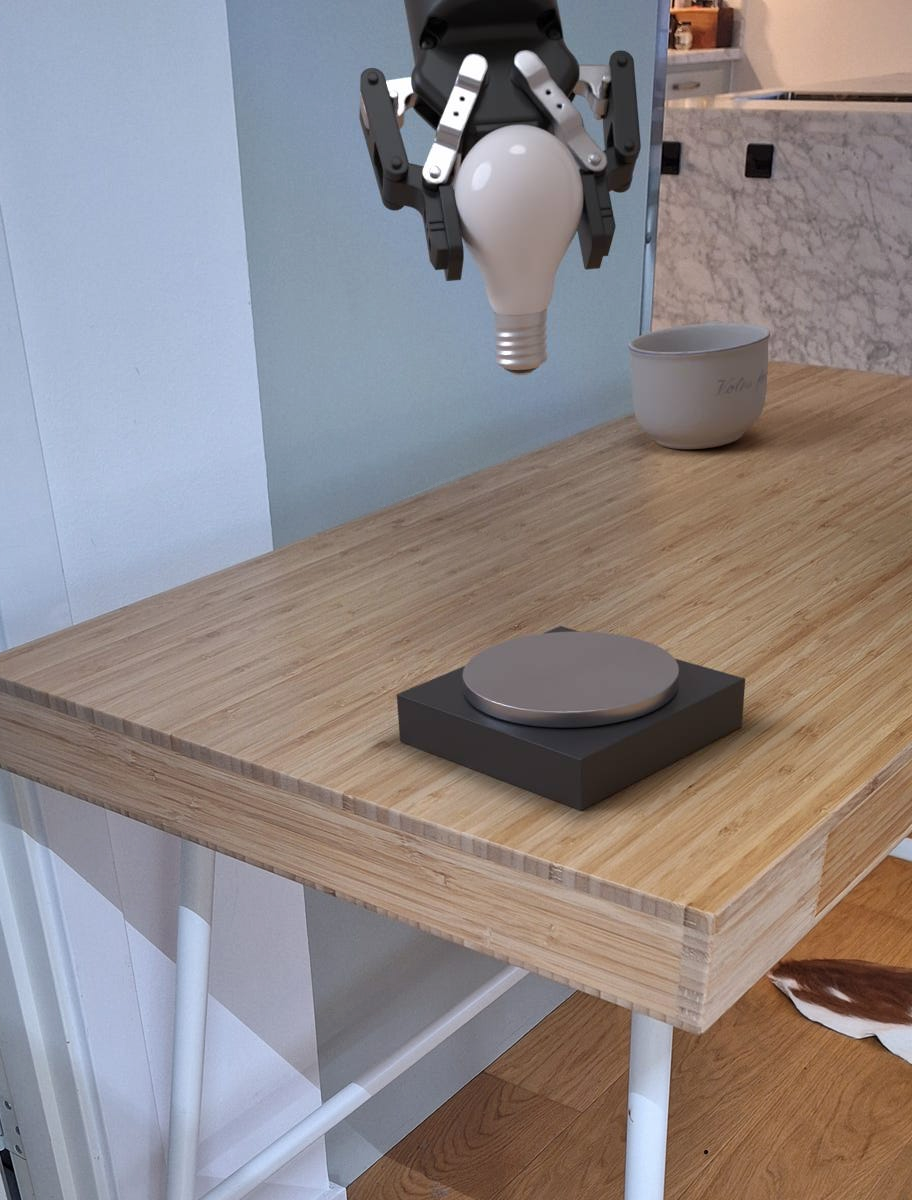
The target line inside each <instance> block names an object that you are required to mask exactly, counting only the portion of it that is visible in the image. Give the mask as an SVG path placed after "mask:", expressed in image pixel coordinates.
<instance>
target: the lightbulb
mask: <svg viewBox="0 0 912 1200" xmlns="http://www.w3.org/2000/svg"><path fill="white" fill-rule="evenodd" d="M453 189H454V195H455V201H456V207H457V213H458V219H459V224H460V230H461V236H462V242H463V246H464V248H466V250H467V252H468V253H469V255H470V257H471V258H472V259H473V261H474V262H475V264H476V266H477V268H478V269H479V271H480V272H479V273H480V274H481V276H482V279H483V283H484V287H485V292H486V297H487V300H488V303H489V305H490V307H491V310H492V312H493V322H494V325H493V326H494V328H495V333H494V337H495V338H496V340H495V342H494V346H495V347H496V350H495V352H494V353H495V356H496V358H495V359H494V360H495V361H494V362H495V363H496V364H497V365H498V366H500V367H501V368H503V369H504V370H505V371H507V372H509V373H510V374H511V375H513V376H528V375H530V374H532V372H534V371H535V370H538V368H540V366H541V365H544V364H545V362H547V360H548V353H547V351H546V350H547V348H548V344H547V342H546V341H547V338H548V335H547V333H546V332H547V329H548V326H547V324H546V322H547V320H548V307H549V305H550V303H551V300H552V297H553V295H554V294H553V293H554V287H555V282H556V276H557V273H558V269H559V267H560V265H561V263H562V261H563V259H564V257H565V255H566V254H567V252H568V250H569V248H570V246H571V244H572V242H573V240H574V239H575V236H576V234H577V233H578V232H577V229H578V227H579V224H580V220H581V216H582V211H583V199H584V196H583V185H582V179H581V175H580V172H579V169H578V166H577V164H576V162H575V159H574V158H573V156H572V154H571V153H570V151H569V150H568V149H567V147H566V146H565V145H564V144H563V143H562V142H561V141H560V140H559V139H558V138H557V137H555V136H554V135H552V134H551V133H549V132H548V131H545V130H543V129H541V128H538V127H535V126H530V125H510V126H505V127H502V128H499V129H497V130H494V131H492V132H491V133H489V134H487V135H486V136H484V137H483V138H482V139H481V140H479V141H478V142H477V143H476V144H475V145H474V146H473V147H472V149H471V150H470V151H469V153H468V154H467V155H466V157H465V159H464V160H463V162H462V164H461V166H460V169H459V171H458V174H457V177H456V181H455V186H454V187H453Z"/></svg>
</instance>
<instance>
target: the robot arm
mask: <svg viewBox="0 0 912 1200" xmlns="http://www.w3.org/2000/svg"><path fill="white" fill-rule="evenodd" d="M403 3H404V9H405V14H406V21H407V27H408V31H409V38H410V39H409V40H410V44H411V51H412V56H413V62H414V67H413V69H412V71H411V74H410V76H405V77H400V78H394V79H387V80H386V77H385V74H384V73H383V71H382V70H380V69H379V68H376V67H369V68H365V69H364V70H363V71H362V72H361V74H360V79H359V80H360V83H359V84H360V85H359V122H360V126H361V129H362V133H363V136H364V140H365V144H366V147H367V151H368V155H369V159H370V162H371V165H372V169H373V171H374V172H373V173H374V176H375V177H374V178H375V180H376V183H377V188H378V191H379V194H380V198H381V202H382V205H383V206H384V207H385V208H386V209H388V210H390V211H394V212H395V211H396V212H397V211H400V210H402V209H403V208H405V207H408V208H412V209H415V210H416V211H417V212H418V213H419V214H420V216H421V217H422V221H423V228H424V234H425V240H426V245H427V251H428V259H429V262H430V264H431V265H432V268H433V269H434V270H435V271H442V270H443V272H444V278H445V281H446V282H453V281H454V282H455V281H462V274H463V268H464V267H463V266H464V261H465V260H464V258H465V256H464V255H465V254H464V253H465V252H464V251H465V250H464V243H463V241H462V236H461V230H460V224H459V219H458V213H457V207H456V201H455V195H454V186H455V181H456V177H457V174H458V171H459V169H460V166H461V164H462V162H463V160H464V159H465V157H466V155H467V154H468V153H469V151H470V150H471V149H472V147H473V146H474V145H475V144H476V143H477V142H478V141H479V140H481V139H482V138H483V137H484V136H486V135H487V134H489V133H491V132H492V131H494V130H497V129H499V128H502V127H505V126H510V125H530V126H535V127H538V128H541V129H543V130H545V131H548V132H549V133H551V134H552V135H554V136H555V137H557V138H558V139H559V140H560V141H561V142H562V143H563V144H564V145H565V146H566V147H567V149H568V150H569V151H570V153H571V154H572V156H573V158H574V159H575V162H576V164H577V166H578V169H579V172H580V175H581V179H582V185H583V196H584V199H583V211H582V216H581V220H580V224H579V227H578V229H577V232H576V233H577V238H578V243H579V247H580V248H579V249H580V252H581V258H582V263H583V268H584V270H596V269H597V270H598V269H601V266H602V262H603V258H604V257H608V256H609V254H610V250H611V246H612V242H613V238H614V234H615V231H616V228H617V227H616V222H615V221H616V220H615V216H614V210H613V206H612V201H611V194H610V193H611V191H613V192H614V193H618V194H623V193H626V192H627V191H628V190H629V189H630V188H631V185H632V183H633V182H632V181H633V177H634V172H635V171H634V170H635V167H636V163H637V160H638V158H639V155H640V153H641V148H642V143H641V131H640V120H639V108H638V107H639V106H638V96H637V95H638V93H637V83H636V72H635V59H634V57H633V55H632V54H630V53H629V52H628V51H626V50H623V49H622V50H620V49H619V50H616V51H614V52H612V53H611V55H610V57H609V61H608V64H585V63H584V64H583V63H581V64H579V62H578V60H577V58H576V56H575V55H574V54H573V52H572V51H571V50H570V49H569V48H568V46H567V44H566V42H565V37H564V31H563V26H562V25H563V24H562V20H561V14H560V9H559V3H558V0H403ZM576 96H581V97H583V98H585V100H586V101H587V102H588V105H589V108H590V110H591V111H592V112H593V118H594V119H595V120H597V121H600V120H601V121H602V131H603V142H604V143H603V145H604V150H603V149H602V148H601V147H600V146H599V144H597V142H596V141H595V140H594V139H593V137H592V135H590V133H589V132H588V131H587V130H586V128H585V125H584V119H583V116H582V114H581V113H580V111H579V110H578V109H577V107H576V106H575V105H574V103H573V101H574V99H575V98H576ZM411 108H412V109H413V110H414V112H415V113H416V114H417V115H418V116H419V117H420V118H421V119H422V120H423V121H425V123H426V124H427V125H428V126H429V127H431V128H432V129H433V130H434V131H435V138H434V140H433V143H432V146H431V148H430V150H429V153H428V154H427V155H428V156H427V158H426V159H425V162H424V164H423V165H420V164H416V163H410V162H409V158H408V154H407V151H406V148H405V144H404V140H403V137H402V133H401V131H400V130H401V129H402V128H403V126H404V125H405V117H406V115H405V114H406V112H407V111H408V110H410V109H411Z"/></svg>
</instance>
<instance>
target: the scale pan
mask: <svg viewBox="0 0 912 1200" xmlns="http://www.w3.org/2000/svg"><path fill="white" fill-rule="evenodd" d="M543 633H544V634H542V633H537V634H532V635H525V636H520V637H517V638H511V639H509V640H505V641H502V642H500V643H497V644H494V645H491V646H489V647H487V648H485V649H483V650H482V651H481V650H480V652H478V653H476V654H475V655H473V657H471V658H470V659H469V660H468V662H466V665H464V666H465V668H464V670H463V691H464V695H465V696H466V698H467V700H468V701H469V702H470V703H471V704H472V705H473V706H474V707H475V708H477V709H478V710H480V711H482V712H484V713H486V714H488V715H490V716H493V717H495V718H498V719H501V720H505V721H508V722H513V723H518V724H523V725H530V726H538V727H552V728H578V727H592V726H600V725H608V724H613V723H618V722H623V721H627V720H631V719H634V718H637V717H640V716H643V715H646V714H648V713H650V712H653V711H655V710H657V709H658V708H660V707H662V706H663V705H665V704H666V703H667V702H669V701H670V700H671V699H672V697H673V696H674V695H675V693H676V691H677V689H678V684H679V666H678V664H677V662H676V660H675V659H676V658H675V657H674V656H673V655H672V654H671V653H670V652H668V651H667V650H666V649H664V648H662V647H660V646H658V645H656V644H655V643H652V642H649V641H646V640H643V639H641V638H636V637H633V636H628V635H622V634H617V633H610V632H609V633H608V632H601V631H600V632H599V631H580V632H554V633H545V632H543Z"/></svg>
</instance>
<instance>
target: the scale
mask: <svg viewBox="0 0 912 1200" xmlns="http://www.w3.org/2000/svg"><path fill="white" fill-rule="evenodd" d="M554 632H581V631H580V630H576V629H573V628H569V627H566V626H562V625H559V626H557V627H554V628H552V629H549V630H547V631H545V632H542V633H541V634H544V633H554ZM675 660H676V662H677V664H678V666H679V684H678V689H677V691H676V693H675V695H674V696H673V697H672V699H671V700H670V701H669V702H667V703H666V704H665V705H663V706H662V707H660V708H658V709H657V710H655V711H653V712H650V713H648V714H646V715H643V716H640V717H637V718H634V719H631V720H627V721H623V722H618V723H613V724H608V725H600V726H592V727H578V728H552V727H538V726H530V725H523V724H518V723H513V722H508V721H505V720H501V719H498V718H495V717H493V716H490V715H488V714H486V713H484V712H482V711H480V710H478V709H477V708H475V707H474V706H473V705H472V704H471V703H470V702H469V701H468V700H467V698H466V696H465V695H464V691H463V670H464V668H465V666H466V665H463V666H461V667H459V668H457V669H454V670H451V671H449V672H446V673H444V674H441V675H439V676H437V677H435V678H432V679H429V680H427V681H425V682H423V683H420V684H418V685H415V686H413V687H410V688H408V689H405V690H403V691H401V692H398V693H397V694H396V705H397V706H396V707H397V716H398V717H397V718H398V719H397V721H398V734H399V741H400V742H401V743H404V744H406V745H409V746H411V747H414V748H416V749H419V750H422V751H424V752H428V753H430V754H432V755H435V756H437V757H440V758H442V759H446V760H448V761H451V762H453V763H456V764H458V765H461V766H464V767H466V768H469V769H472V770H473V771H476V772H480V773H481V774H484V775H487V776H489V777H492V778H495V779H496V780H497V779H498V780H500V781H503V782H505V783H508V784H511V785H513V786H516V787H518V788H521V789H524V790H527V791H529V792H532V793H534V794H537V795H539V796H542V797H545V798H547V799H550V800H553V801H554V802H555V801H556V802H558V803H561V804H562V805H566V806H569V807H571V808H573V809H576V810H579V811H583V810H585V809H588V808H589V807H591V806H593V805H595V804H597V803H600V802H601V801H603V800H605V799H607V798H608V797H610V796H613V795H614V794H616V793H618V792H620V791H621V790H624V789H625V788H628V787H630V786H631V785H633V784H635V783H637V782H640V781H641V780H643V779H645V778H647V777H648V776H651V775H653V774H654V773H657V772H658V771H660V770H662V769H664V768H667V767H668V766H669V765H672V764H673V763H675V762H677V761H679V760H680V759H683V758H685V757H687V756H689V755H690V754H692V753H694V752H696V751H697V750H698V751H699V750H700V749H702V748H704V747H706V746H708V745H710V744H711V743H713V742H715V741H716V740H718V739H719V740H720V739H721V738H722V737H724V736H725V737H726V736H727V735H728V734H730V733H733V732H734V731H736V730H738V729H740V728H742V726H743V720H744V719H743V717H744V705H745V704H744V703H745V690H746V678H745V677H741V676H738V675H734V674H731V673H727V672H723V671H720V670H717V669H713V668H710V667H707V666H703V665H699V664H696V663H692V662H688V661H685V660H681V659H678V658H675Z"/></svg>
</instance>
